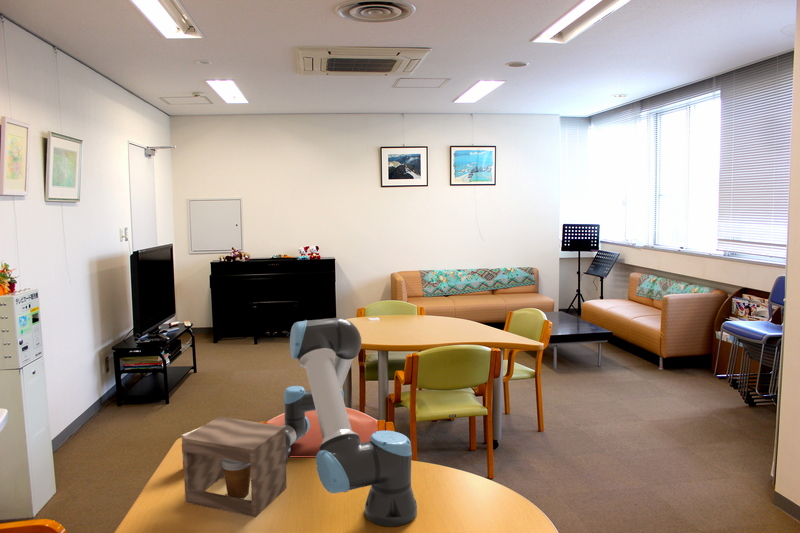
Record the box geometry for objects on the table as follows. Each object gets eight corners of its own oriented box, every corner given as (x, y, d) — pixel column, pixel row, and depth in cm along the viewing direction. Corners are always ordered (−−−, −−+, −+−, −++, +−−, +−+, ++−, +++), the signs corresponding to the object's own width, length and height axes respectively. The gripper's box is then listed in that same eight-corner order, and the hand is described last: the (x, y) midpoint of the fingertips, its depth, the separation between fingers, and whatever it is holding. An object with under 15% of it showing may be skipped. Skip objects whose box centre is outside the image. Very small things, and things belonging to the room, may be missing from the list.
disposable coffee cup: (215, 500, 165) (214, 462, 164) (232, 484, 175) (231, 448, 173) (244, 504, 163) (243, 465, 162) (259, 488, 172) (258, 451, 171)
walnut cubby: (221, 475, 180) (219, 416, 178) (286, 488, 173) (285, 426, 170) (185, 502, 164) (182, 437, 162) (255, 517, 156) (253, 449, 154)
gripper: (312, 455, 189) (280, 484, 169) (251, 444, 197) (213, 471, 177) (312, 434, 189) (279, 461, 169) (250, 424, 197) (212, 449, 177)
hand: (245, 466), depth 173 cm, fingers open, 13 cm apart
